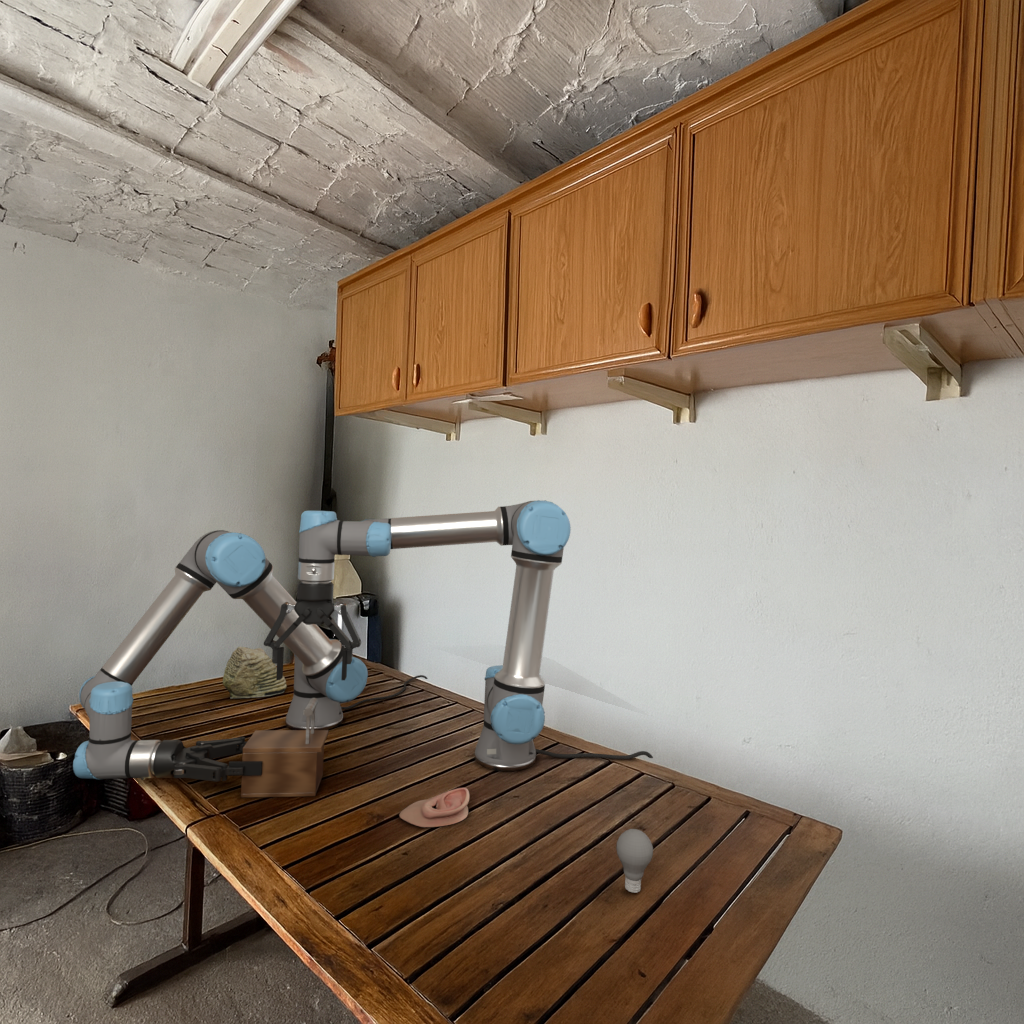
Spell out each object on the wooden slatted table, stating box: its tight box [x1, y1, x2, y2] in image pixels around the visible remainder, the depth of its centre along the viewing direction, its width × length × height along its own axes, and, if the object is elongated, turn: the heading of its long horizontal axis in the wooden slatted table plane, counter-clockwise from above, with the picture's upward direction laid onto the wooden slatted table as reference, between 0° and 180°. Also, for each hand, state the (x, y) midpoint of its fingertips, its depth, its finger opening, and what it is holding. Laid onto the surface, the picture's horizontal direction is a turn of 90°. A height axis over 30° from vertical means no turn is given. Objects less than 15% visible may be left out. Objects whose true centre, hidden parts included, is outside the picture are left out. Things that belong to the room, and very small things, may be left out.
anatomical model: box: [398, 787, 471, 828], centre depth 128 cm, size 13×4×12 cm
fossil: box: [222, 646, 288, 699], centre depth 198 cm, size 9×18×15 cm, turn 132°
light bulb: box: [615, 828, 654, 894], centre depth 106 cm, size 6×6×10 cm
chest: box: [240, 745, 325, 798], centre depth 138 cm, size 15×10×9 cm
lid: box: [242, 698, 329, 754], centre depth 138 cm, size 16×10×9 cm, turn 98°
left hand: (268, 757), depth 137 cm, fingers closed on chest, 10 cm apart
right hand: (311, 678), depth 138 cm, fingers open, 13 cm apart
